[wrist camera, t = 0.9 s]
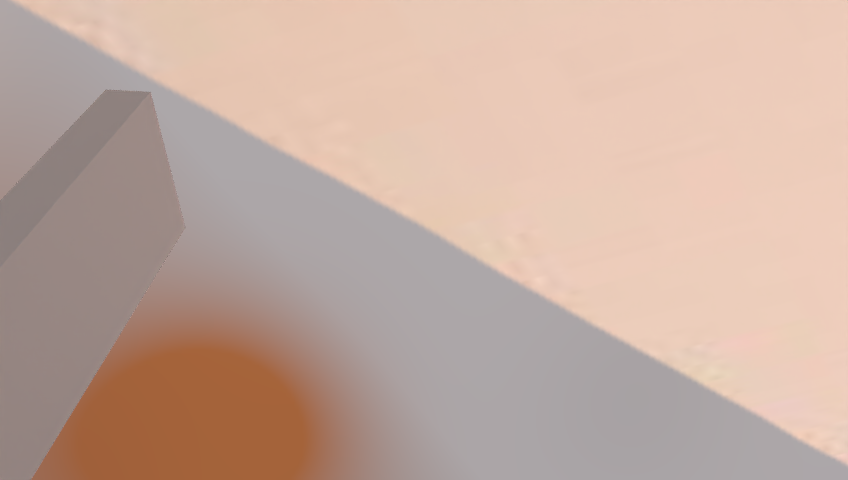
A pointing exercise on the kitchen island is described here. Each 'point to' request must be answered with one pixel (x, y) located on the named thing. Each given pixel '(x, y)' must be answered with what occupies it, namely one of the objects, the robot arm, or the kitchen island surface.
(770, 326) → the kitchen island surface
